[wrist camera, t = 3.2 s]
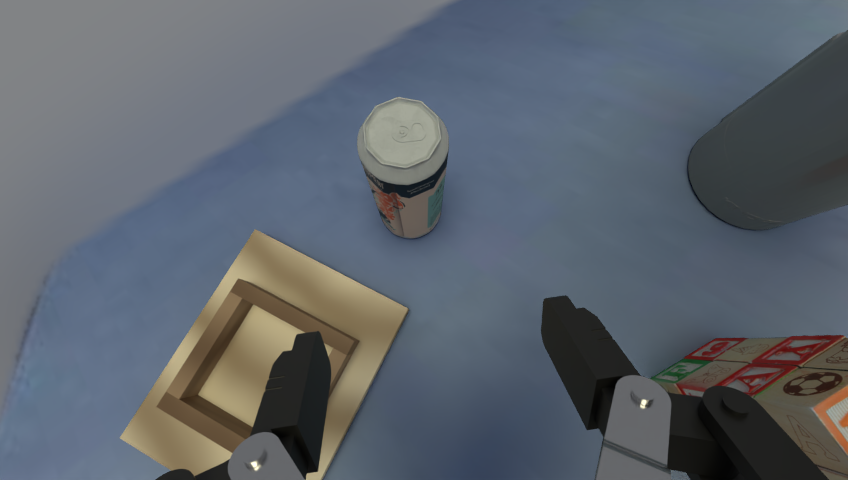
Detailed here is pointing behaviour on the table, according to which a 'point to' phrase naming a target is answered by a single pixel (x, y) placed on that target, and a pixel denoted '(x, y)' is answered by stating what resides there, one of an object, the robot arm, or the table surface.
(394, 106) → the beer can
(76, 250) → the table surface
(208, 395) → the base board
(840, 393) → the stack of blocks
